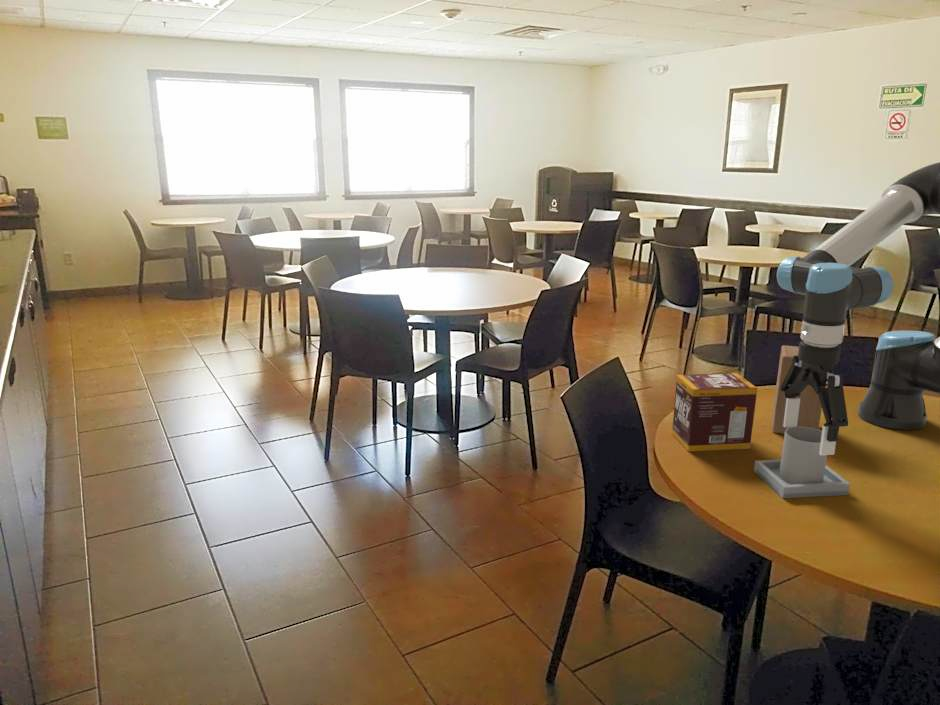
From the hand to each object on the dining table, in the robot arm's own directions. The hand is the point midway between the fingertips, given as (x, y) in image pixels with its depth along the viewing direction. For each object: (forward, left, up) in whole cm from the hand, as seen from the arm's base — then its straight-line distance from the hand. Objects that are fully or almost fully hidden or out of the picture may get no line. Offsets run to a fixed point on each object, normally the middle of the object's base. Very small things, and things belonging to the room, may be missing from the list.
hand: (807, 439), depth 143 cm
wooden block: (-14, -27, -10) cm, 32 cm away
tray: (0, 0, -10) cm, 10 cm away
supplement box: (+10, -22, -10) cm, 26 cm away
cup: (0, 0, -9) cm, 9 cm away
